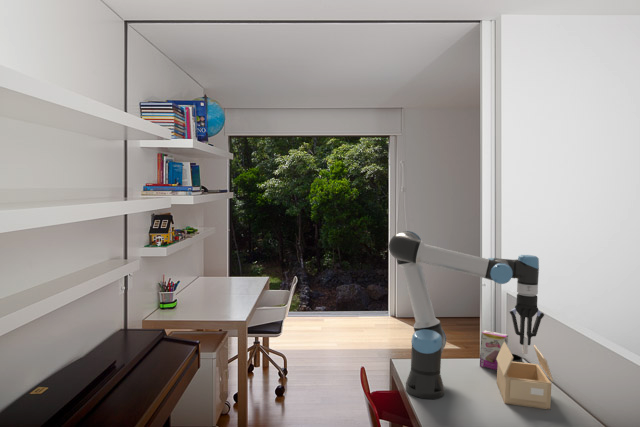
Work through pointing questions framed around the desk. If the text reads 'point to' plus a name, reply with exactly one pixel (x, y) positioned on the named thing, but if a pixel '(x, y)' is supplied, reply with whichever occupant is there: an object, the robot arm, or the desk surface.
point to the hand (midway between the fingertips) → (524, 352)
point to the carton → (525, 385)
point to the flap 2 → (543, 363)
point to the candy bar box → (491, 348)
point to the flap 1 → (504, 358)
